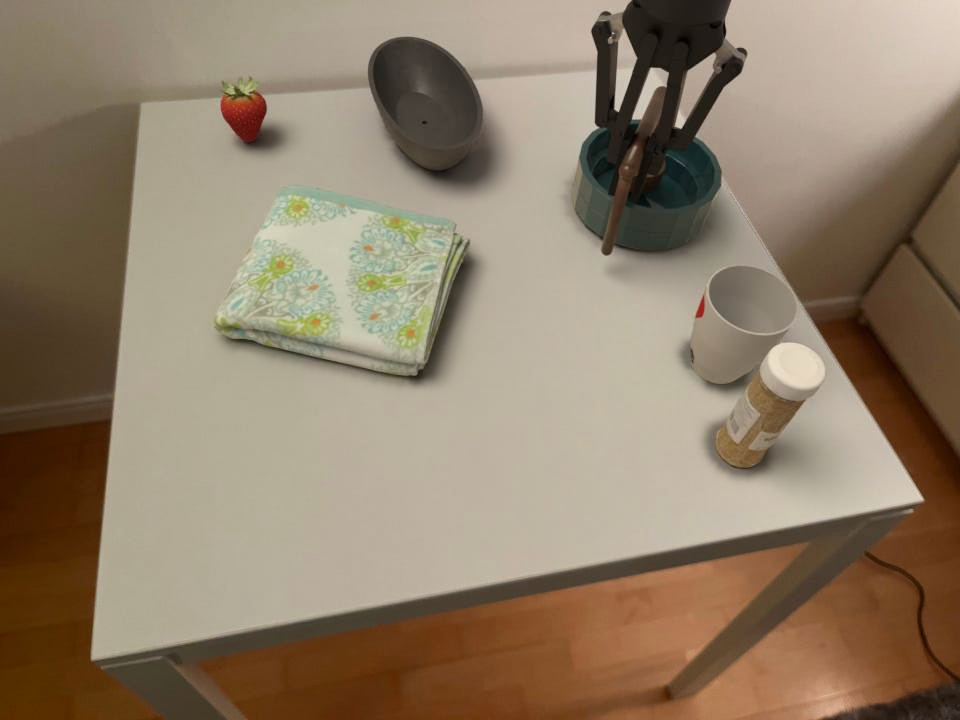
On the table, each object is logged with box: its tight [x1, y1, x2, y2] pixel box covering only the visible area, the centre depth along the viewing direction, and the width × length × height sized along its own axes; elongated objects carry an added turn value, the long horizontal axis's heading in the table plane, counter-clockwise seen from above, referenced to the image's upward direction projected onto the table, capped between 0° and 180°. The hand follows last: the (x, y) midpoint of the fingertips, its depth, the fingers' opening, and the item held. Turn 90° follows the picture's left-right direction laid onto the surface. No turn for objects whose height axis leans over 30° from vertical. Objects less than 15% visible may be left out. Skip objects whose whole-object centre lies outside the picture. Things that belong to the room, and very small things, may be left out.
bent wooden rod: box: [600, 85, 667, 256], centre depth 76 cm, size 16×5×12 cm, turn 158°
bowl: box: [367, 36, 484, 172], centre depth 88 cm, size 12×22×6 cm, turn 19°
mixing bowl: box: [570, 118, 723, 251], centre depth 83 cm, size 16×16×6 cm
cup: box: [689, 263, 800, 385], centre depth 69 cm, size 8×8×10 cm
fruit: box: [217, 75, 268, 143], centre depth 85 cm, size 5×5×8 cm
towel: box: [212, 184, 471, 377], centre depth 73 cm, size 18×21×5 cm
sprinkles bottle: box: [714, 341, 827, 469], centre depth 62 cm, size 5×5×14 cm
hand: (625, 190), depth 75 cm, fingers closed on bent wooden rod, 2 cm apart
